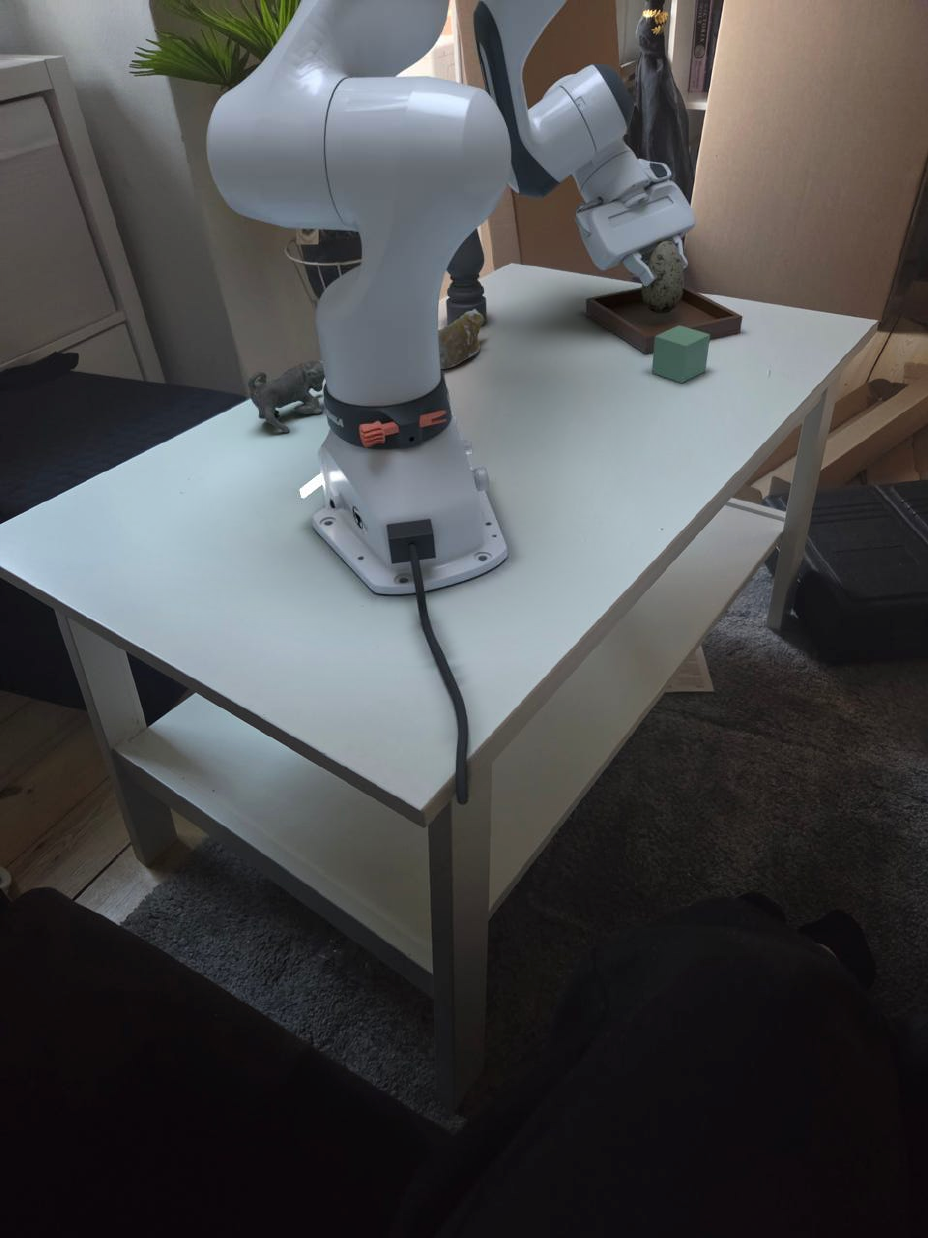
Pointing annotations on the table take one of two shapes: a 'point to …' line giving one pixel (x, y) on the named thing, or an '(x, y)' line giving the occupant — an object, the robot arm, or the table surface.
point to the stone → (459, 339)
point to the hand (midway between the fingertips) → (667, 275)
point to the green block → (680, 353)
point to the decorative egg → (664, 279)
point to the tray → (660, 317)
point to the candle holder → (466, 280)
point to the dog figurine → (287, 391)
